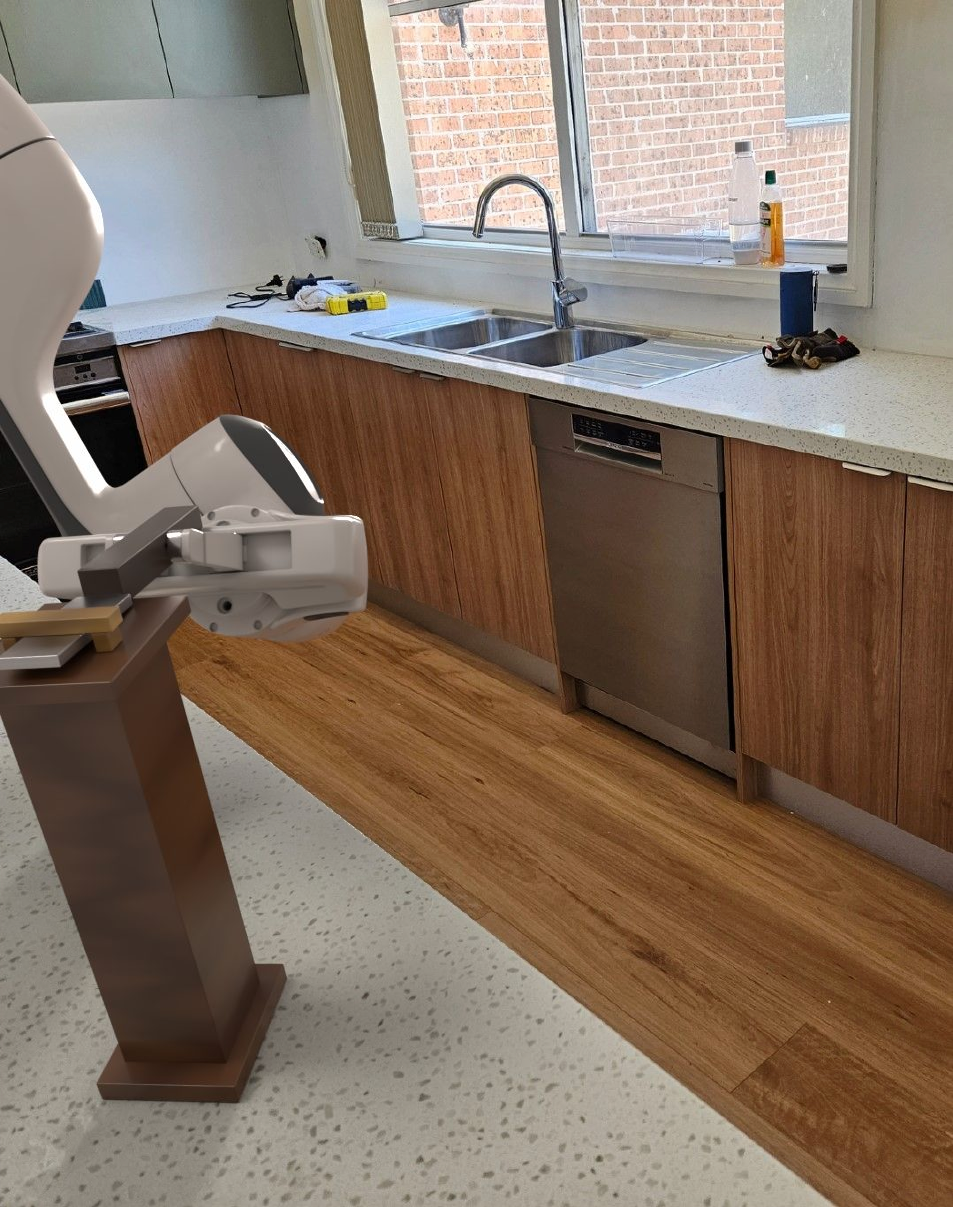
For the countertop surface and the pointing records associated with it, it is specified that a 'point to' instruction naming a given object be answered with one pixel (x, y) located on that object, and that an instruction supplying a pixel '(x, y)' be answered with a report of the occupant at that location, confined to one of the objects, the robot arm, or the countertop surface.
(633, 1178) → the countertop surface
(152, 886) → the brown wooden pedestal
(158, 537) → the knife
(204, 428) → the robot arm
